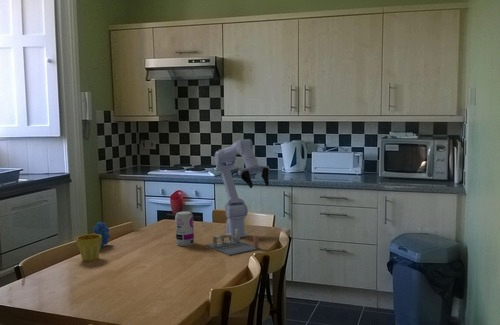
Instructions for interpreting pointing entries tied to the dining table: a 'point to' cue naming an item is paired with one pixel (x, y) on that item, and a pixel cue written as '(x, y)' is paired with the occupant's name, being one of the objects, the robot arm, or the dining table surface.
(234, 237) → the gate
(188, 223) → the supplement can
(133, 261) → the dining table surface
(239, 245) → the gate frame
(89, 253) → the plant pot
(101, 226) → the grapes
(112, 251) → the dining table surface
